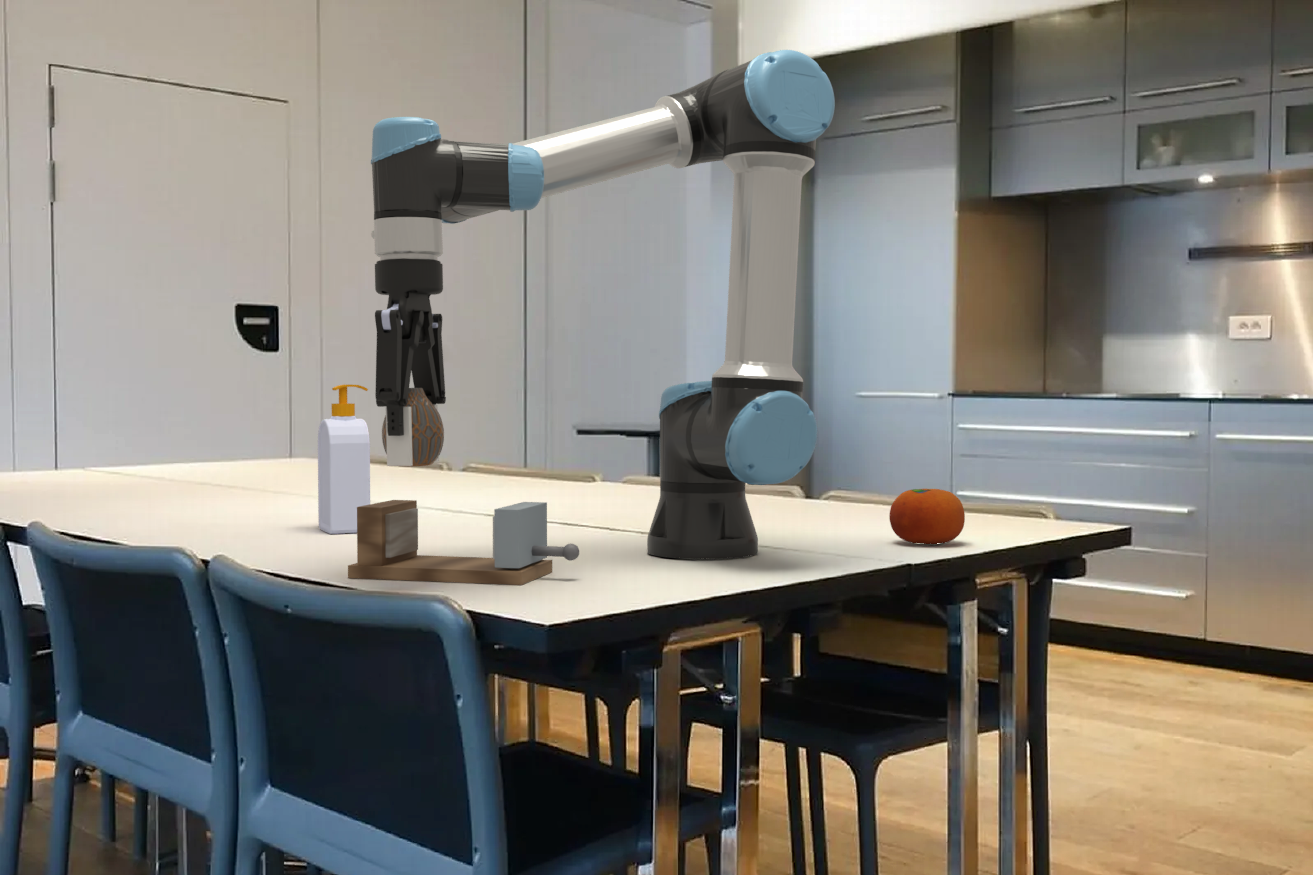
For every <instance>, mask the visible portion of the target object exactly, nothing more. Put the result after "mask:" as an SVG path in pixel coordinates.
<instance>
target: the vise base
mask: <svg viewBox="0 0 1313 875" xmlns="http://www.w3.org/2000/svg"><path fill="white" fill-rule="evenodd" d="M417 502H418V501H417V499H416V500H415V499H414V500H413V499H411V500H408V499H406V500H405V499H391V500H386V501H381V502H375V503H370V505H364V506H359V507H357V533H356V537H357V538H356V539H357V540H356V545H357V546H356V548H357V550H356V553H357V556H356V559H357V562H355V563H352V564H349V565H347V579H360V580H361V579H362V580H363V579H364V580H391V581H415V582H437V583H463V584H486V585H488V584H490V585H491V584H492V585H509V586H510V585H512V586H513V585H514V586H516V585H517V586H523V585H525V584H527V583H528V584H529V583H530V582H532V581H534V580H537V579H539V578H542V577H545V576H546V575H549V574H551V573H553V559H542V560H539V561H537V562H534V563H532V564H529V565H526V566H524V567H521V568H495V559H493V557H480V556H479V557H477V556H475V557H473V556H453V555H451V556H450V555H448V556H447V555H427V554H426V555H424V554H423V555H422V554H421V555H420V554H418V550H419V508H418V504H417Z"/></svg>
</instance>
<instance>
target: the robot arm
mask: <svg viewBox="0 0 1313 875" xmlns="http://www.w3.org/2000/svg"><path fill="white" fill-rule="evenodd" d="M835 100H836V98H835V94H834V88H833V86H832V83H831V81H830V78H829V77H828V75H827V74H826V72H825V71H823V70H822V68H821V66H819V63H818V62H817V61H816V60H814V58H811V57H810V56H808V55H807V54H806V53H803V52H801V51H798V50H792V49H779V50H775V51H770V52H769V51H768V52H764V53H762V54H759V55H757V56H756V57H754V58H753V59H751V60H749V61H747V62H744V63H742V64H739V65H736V66H733V67H732V68H729V69H725V70H723V71H720V72H718V73H717V74H715V75H713V76H711V77H709V78H708V79H705V80H703V81H701V82H699V83H697V84H695V85H694V86H691V87H688V88H686V89H684V90H682V91H679V92H676V93H672V94H669V95H664V96H661V97H659V99H658V100H657V101H656V103H655V104H654V107H649V108H645V109H641V110H638V111H634V112H631V113H626V114H622V115H618V116H614V117H612V118H611V117H610V118H606V119H603V120H599V121H596V122H591V123H588V124H583V125H580V126H575V127H572V128H569V129H564V130H560V131H557V132H552V133H548V134H546V135H540V136H537V137H533V138H530V139H524V140H521V141H518V142H515V143H514V142H513V143H512V142H508V143H494V142H493V143H492V142H491V143H489V142H470V141H454V140H448V139H444V138H443V139H442V134H441V133H440V132H441V131H440V126H439V124H438V123H437V122H436V121H435V120H432V119H429V118H423V117H420V116H419V117H417V116H396V117H387V118H383V119H381V120H380V121H378V122H376V124H375V125H374V126H373V129H372V140H371V141H372V142H371V145H372V146H371V160H370V165H371V174H372V178H371V179H372V194H373V195H372V197H373V198H372V199H373V230H372V231H371V233H370V235H371V238H372V239H374V254H375V256H376V257H379V258H380V260H377V261H376V263H374V287H375V288H374V289H375V292H376V293H377V294H379V295H381V296H382V295H383V296H388V299H387V304H386V305H387V306H386V309H378V310H375V312H374V320H375V321H374V322H375V327H376V350H375V352H376V355H375V357H376V358H375V360H376V361H375V392H374V394H375V403H376V406H377V407H379V408H380V407H384V408H385V415H386V441H387V454H386V466H387V467H404V466H410V467H414V466H413V458H412V417H411V407H403V406H406V405H407V401H408V392H409V388H410V383H411V376H412V382H413V388H423V390H424V393H425V395H426V396H427V398H428V399H429V400H430V402H431V403H432V404H433V405H434V407H435V408H436V409H437V411H438V410H439V409H438V405H444V404H445V403H446V401H447V397H446V384H445V383H446V382H445V381H446V380H445V368H444V354H443V353H444V352H443V338H442V336H443V335H442V331H443V315H442V313H432V312H433V311H432V306H431V300H430V297H431V295H434V296H435V295H439V294H441V293H442V292H443V291H444V276H443V275H444V273H443V268H444V267H443V266H444V265H443V263H441V261H440V260H438V257H441V256H443V254H444V252H443V249H444V248H443V225H442V224H452V225H454V224H458V223H462V222H465V221H467V220H469V219H472V218H476V217H479V216H480V217H481V216H483V215H486V214H491V213H494V212H497V211H509V212H511V213H513V212H515V211H531V210H533V209H535V208H536V207H537V206H538V205H539V203H540V201H541V199H544V198H548V197H552V196H555V195H558V194H559V195H560V194H562V193H565V192H570V191H573V190H577V189H580V188H584V187H588V186H593V185H594V184H598V183H603V182H607V181H609V180H614V179H618V178H621V177H624V176H628V175H632V174H636V173H639V172H643V171H647V170H649V169H650V170H651V169H653V168H657V167H661V166H664V165H669V166H671V167H672V168H674V169H682V168H683V169H684V168H686V167H690V166H694V165H699V164H705V163H710V162H711V163H712V162H713V163H714V162H719V161H722V162H723V163H724V165H725V166H726V167H727V168H728V169H729V171H731V172H732V173H733V193H732V194H733V195H732V197H733V198H732V214H731V216H732V217H731V235H730V250H729V251H730V255H729V270H728V271H729V274H728V276H729V277H728V291H727V292H728V293H727V294H728V295H727V314H726V315H727V316H726V332H725V333H726V334H725V335H726V336H725V348H724V349H725V350H724V351H725V352H724V353H725V354H724V361H723V364H722V365H721V366H720V367H719V368H717V369H716V371H714V373H712V374H711V380H705V381H696V382H684V383H679V384H675V385H670V386H669V387H667V388H665V389H664V390H663V392H662V393H661V396H660V403H659V404H660V408H659V410H658V417H659V418H658V419H659V471H660V472H659V478H660V479H659V483H660V484H659V485H660V486H659V488H660V489H659V491H660V492H659V500H658V503H657V506H656V509H655V511H654V515H653V519H652V522H651V525H650V527H649V532H648V535H647V542H646V544H647V545H646V546H647V550H646V552H647V554H649V555H652V556H655V557H662V558H669V559H683V560H684V559H685V560H726V559H727V560H728V559H737V558H740V559H741V558H747V557H751V556H752V557H753V556H755V555H757V554H758V553H759V538H758V537H759V536H758V533H757V531H756V527H755V524H754V521H753V518H752V515H751V512H750V511H751V510H750V508H749V505H748V502H747V499H746V498H747V497H746V484H747V485H752V486H754V485H757V486H764V485H765V486H766V485H777V484H780V483H784V482H787V481H789V480H791V479H793V478H794V477H795V476H797V475H798V474H799V473H800V472H801V471H802V470H803V469H804V468H805V467H806V466H807V464H808V463H809V462H810V460H811V459H812V456H813V454H814V451H815V449H816V445H817V440H818V424H817V419H816V417H815V414H814V411H812V410H811V408H810V405H809V404H808V403H807V402H806V401H805V400H804V398H803V396H804V395H803V394H804V392H803V390H804V379H803V378H802V376H801V375H800V374H799V372H797V371H796V370H795V368H794V366H793V355H794V354H793V353H794V338H795V337H794V335H795V334H794V333H795V330H794V329H795V315H796V313H795V312H796V294H797V280H798V278H797V276H798V258H799V243H800V242H799V240H800V238H799V237H800V236H799V235H800V220H801V200H802V198H801V197H802V181H803V180H802V179H803V177H804V176H805V175H806V174H807V173H808V172H809V171H810V170H811V169H813V167H815V162H816V146H817V139H818V138H819V137H820V136H822V135H823V134H824V133H825V132H826V130H827V129H828V128H829V127H830V125H831V124H832V121H833V117H834V114H835V109H836V108H835V107H836V106H835V105H836V102H835ZM438 412H439V411H438ZM439 457H440V456H439ZM439 457H438V458H437V459H436V461H435V462H439V461H440V460H439V459H440V458H439Z"/></svg>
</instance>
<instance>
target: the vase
mask: <svg viewBox="0 0 1313 875" xmlns="http://www.w3.org/2000/svg"><path fill="white" fill-rule="evenodd" d="M403 407H411V417H412V458H413V466H412V467H425V466H426V467H429V466H432V465H433V464H434V463H435V462H437V461H436V459H437V458H438V457H440V455H441V453H442V451H443V446H444V441H445V429H444V423H443V420H442V417H441V415H440V413H439V411H437V410H438V408H437V409H436V408H435V407H434V405H433V404H432V403H431V402H430V400H429V399H428V398H427V396H426V395H425V393H424V390H423V388H414V387H409V392H408V401H407V405H406V406H403ZM381 441H382V447H383V450H384V453H385V454H386V455H387V441H386V414H385V415H384V419H383V422H382V426H381ZM403 467H411V466H403Z"/></svg>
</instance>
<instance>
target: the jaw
mask: <svg viewBox="0 0 1313 875" xmlns="http://www.w3.org/2000/svg"><path fill="white" fill-rule="evenodd" d="M493 512H494V515H492V558H493V559H495V568H521V567H524V566H526V565H529V564H532V563H534V562H537V561H539V560H546V558H548V557H554V558H555V557H557V558H560V557H561V558H564V559H566V560H567V561H575V560H577V559H578V557H579V555H580V549H579V547H578V545H577V544H575V543H568V544H566V545H564V546H557V545H555V546H554V545H553V546H552V545H548V502H547V501H546V502H543V501H542V502H541V501H538V502H537V501H522V502H518V503H514V504H510V505H507V506H502V507H499V508H494V510H493Z"/></svg>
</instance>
